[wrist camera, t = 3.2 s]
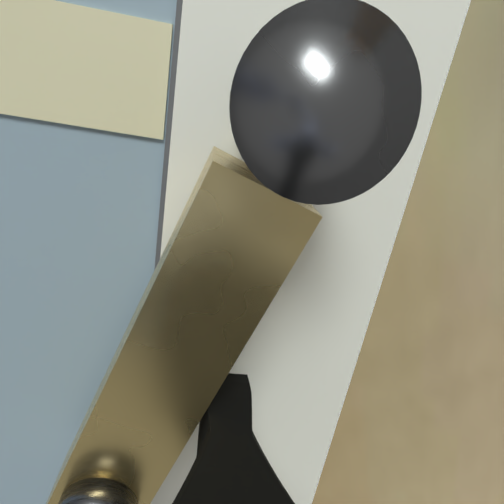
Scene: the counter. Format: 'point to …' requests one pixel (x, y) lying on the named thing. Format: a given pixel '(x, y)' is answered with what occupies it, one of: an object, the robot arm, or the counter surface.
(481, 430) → the counter surface
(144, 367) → the swing bar
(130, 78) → the door panel
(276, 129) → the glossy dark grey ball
